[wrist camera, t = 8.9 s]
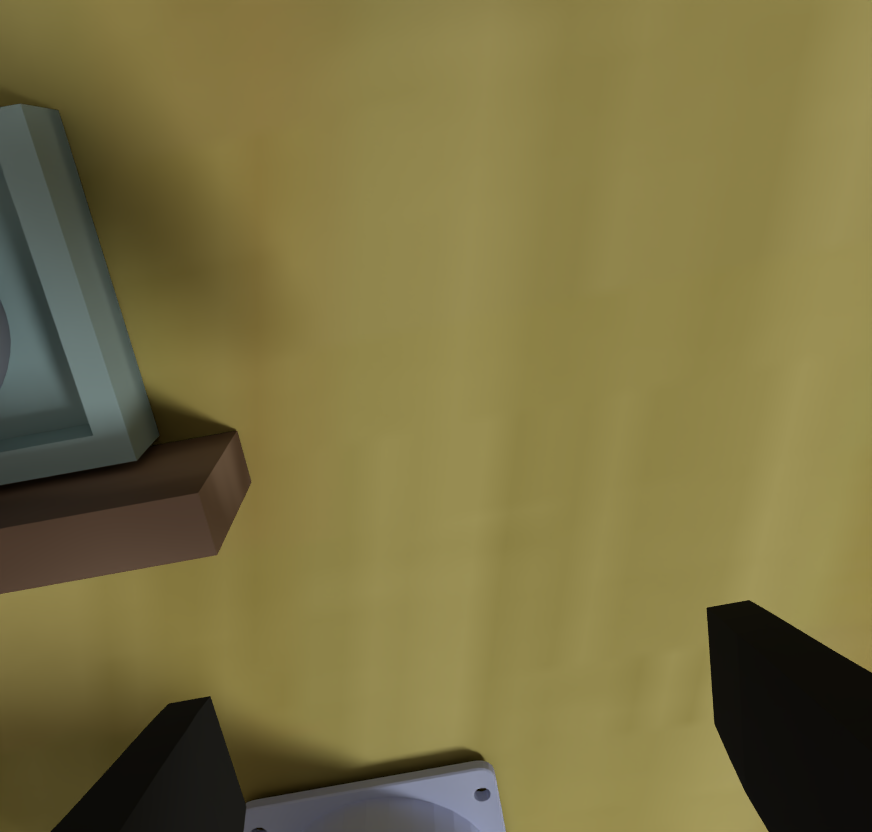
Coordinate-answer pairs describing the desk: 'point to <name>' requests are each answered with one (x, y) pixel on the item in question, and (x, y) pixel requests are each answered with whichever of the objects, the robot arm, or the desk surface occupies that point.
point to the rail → (122, 514)
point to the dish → (59, 317)
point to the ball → (4, 344)
